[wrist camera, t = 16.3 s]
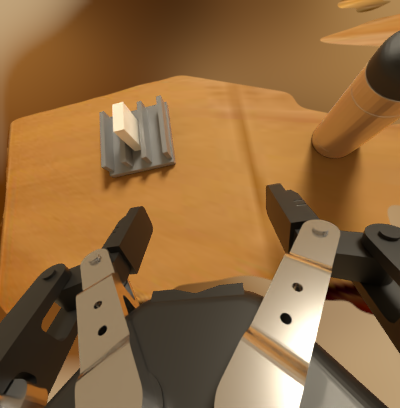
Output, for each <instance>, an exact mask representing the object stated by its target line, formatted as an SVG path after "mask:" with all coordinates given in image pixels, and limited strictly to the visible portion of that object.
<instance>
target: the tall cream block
mask: <svg viewBox="0 0 400 408" xmlns="http://www.w3.org/2000/svg"><path fill="white" fill-rule="evenodd" d="M112 107H113V132H114V133H115V134H116V135H117V136H119V137H120V138H121V139H122V140H123V141H124V142H125V143H126V144H127V145H128V146H130V147H131V148H132V149H133V150H134V151H138V150H141V145H140V134H139V123H138V120H137V119H136V118H135V117H134V115H133V114H132V113H131V112H130V110H129V109H128V108H127V107H126V105H125V104H124V103H123V102H121V103H117V104H113V105H112Z"/></svg>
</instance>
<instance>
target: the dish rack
mask: <svg viewBox="0 0 400 408" xmlns="http://www.w3.org/2000/svg"><path fill="white" fill-rule="evenodd" d="M156 100H157V105H153V106H149V107H146V108H145V106H144V105H143V103H142V102H141V101H139V102H137V110H135V111H131V113H132V114H133V115H134V117H135V118H136V119H137V120H138V123H139V134H140V145H141V150H138V151H134V150H133V149H132V148H131V147H130V146H128V145H127V144H126V143H125V142H124V141H123V140H122V139H121V138H120V137H119V136H117V135H116V134H115V133H114V132H113V117H109V116H108V115H107V114H106V113H105V112H104V111H103V112H100V138H101V166H102V168H104V169H106V170H108V171H109V172H110V176H111V177H113V178H114V177H119V176H123V175H128V174H132V173H137V172H141V171H146V170H150V169H155V168H159V167H164V166H168V165H173V164H175V156H174V148H173V141H172V133H171V126H170V118H169V110H168V105H167V103H166V102H164V101H163V99H162V97H161V95H160V96H157V97H156Z"/></svg>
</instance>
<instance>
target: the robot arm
mask: <svg viewBox="0 0 400 408" xmlns="http://www.w3.org/2000/svg"><path fill="white" fill-rule="evenodd" d="M399 118H400V31H398V32H396V33H395V34H393V35H392V36H391V37H389V38H388V39H387V40H386V41H385V42H384V43H383V44H382V45H381V46H380V48H379V49H378V50H377V51H376V53H375V54H374V55H373V57H372V58H371V59H370V60H369V62H368V63H367V64H366V65H365V67H364V68H363V70H362V71H361V72H360V73H359V75H358V76H357V77H356V78H355V80H354V81H353V83H352V84H351V85H350V86H349V87H348V89H347V90H346V91H345V93H344V94H343V95H342V97H341V98H340V99H339V100H338V101H337V103H336V104H335V105H334V107H333V108H332V109H331V111H330V112H329V113H328V114H327V116H326V117H325V118H324V119H323V121H322V122H321V123H320V124H319V126H318V127H317V128H316V130H315V131H314V133H313V135H312V143H313V146H314V148H315V149H316V151H317V152H318V153H320V154H321V155H323V156H325V157H329V158H341V157H344V156H347V155H348V154H350V153H351V152H353V151H354V150H356V149H357V148H358V147H360V146H361V145H363V144H364V143H365V142H367V141H368V140H370V139H371V138H373V137H374V136H375V135H377V134H378V133H380V132H381V131H382V130H384V129H385V128H387V127H388V126H389V125H391V124H392V123H394V122H395V121H396V120H397V119H399ZM266 210H267V214H268V217H269V219H270V221H271V223H272V225H273V227H274V229H275V232H276V234H277V236H278V238H279V240H280V242H281V244H282V246H283V248H284V251H285V253H286V254H285V255H284V257H283V259H282V261H281V263H280V265H279V268H278V270H277V272H276V274H275V276H274V278H273V280H272V282H271V284H270V286H269V289H268V290H267V293H266V295H265V297H263V296H261V295H258V294H256V293H253V292H250V291H245V290H244V289H243V283H237V284H227V285H219V286H216V287H213V288H210V289H207V290H204V291H202V292H199V293H190V292H184V291H179V290H163V291H153V294H152V298H151V300H148V301H146V302H144V303H143V304H141V305H139V303H138V301H137V298H136V296H135V293H134V291H133V288H132V286H131V283H130V281H129V279H128V276H129V274H137V273H138V270H139V268H140V265H141V262H142V259H143V257H144V254H145V251H146V249H147V246H148V243H149V240H150V238H151V235H152V232H153V227H152V223H151V221H150V219H149V217H148V215H147V213H146V210H145V208H144V207H143V206H140V207H134V208H131V209H130V210H129V211H128V213H127V215H126V216H125V217H123V218H122V219H121V220H120V221H119V222H118V224H117V225H116V227H115V229H114V230H113V232H112V233H111V235H110V236H109V238H108V239H107V241H106V242H105V244H104V246H103V247H102V249H98V250H95V251H93V252H92V253H90V254H89V255H87V256H86V257H85V258H84V259H83V261H82V262H81V265H78V266H76V267H73V268H71V269H68V268H67V267H66V266H65V265H64V264H57V265H54V266H52V267H50V268H48V269H47V270H45V271H44V272H43V273H42V274H41V275H40V276H39V277H38V278H37V279H36V280H35V281H34V283H33V284H32V285H31V286H30V288H29V289H28V290H27V291H26V292H25V294H24V295H23V296H22V297H21V298H20V300H19V301H18V302H17V303H16V305H15V306H14V307H13V308H12V309H11V311H10V312H9V313H8V314H7V315H6V317H5V318H4V319H3V320H2V322H1V323H0V408H388V407H387V406H386V405H384V403H383V402H381V401H380V400H379V399H378V398H377V397H376V396H375V395H374V394H373V393H371V392H370V391H369V390H368V389H367V388H366V387H365V386H364V385H363V384H362V383H360V382H359V381H358V380H357V379H356V378H355V377H354V376H353V375H352V374H351V373H349V372H348V371H347V370H346V369H345V368H344V367H343V366H342V365H341V364H339V363H338V362H337V361H336V360H335V359H334V358H333V357H332V356H331V355H329V354H328V353H327V352H326V351H325V350H324V349H323V348H322V347H321V346H320V345H318V344H317V343H316V342H315V338H316V333H317V330H318V326H319V321H320V317H321V313H322V309H323V305H324V301H325V297H326V293H327V289H328V285H329V281H330V277H333V278H339V279H345V280H350V281H352V282H353V284H354V285H355V287H356V288H357V290H358V292H359V293H360V295H361V296H362V298H363V299H364V301H365V302H366V304H367V305H368V307H369V308H370V310H371V311H372V313H373V314H374V316H375V317H376V319H377V320H378V322H379V323H380V325H381V326H382V328H383V329H384V330H385V332H386V334H387V335H388V336H389V338H390V340H391V341H392V343H393V344H394V346H395V347H396V349H397V350H398V352H399V353H400V228H399V227H396V226H392V225H388V224H372V225H369V226H367V227H366V228H365V231H364V233H360V232H348V231H340V230H339V229H338V228H337V227H336V226H335V225H334V224H332V223H330V222H328V221H324V220H320V219H319V218H318V217H317V216H316V214H315V213H314V212H313V211H312V210H311V208H310V207H309V206H308V205H306V203H305V201H304V200H302V198H301V197H300V195H299V194H298V193H296V192H294V191H292V190H285V189H284V188H283V186H282V185H281V184H280V183H278V184H272V185H267V186H266ZM54 302H55V303H57V304H58V305H59V306H60V307H61V309H60V311H59V312H58V314H57V316H56V317H55V319H54V321H53V322H52V324H51V325H50V327H49V329H48V330H47V332H44V331H43V330H42V328H41V324H42V320H43V318H44V317H45V315H46V314H47V312H48V311H49V309H50V308H51V306H52V304H53V303H54ZM77 334H78V342H79V357H80V368H79V370H78V371H77V372H76V373H75V374H74V375H73V376H72V377H71V378H70V379H69V380H68V381H67V383H66V384H65V385H64V386H63V387H62V388H61V389H60V390H59V391H58V393H56V395H55V396H54V397H53V398H52V399H51V400H50V401H49V402H48V403H47V399H48V395H49V393H50V391H51V388H52V387H53V384H54V382H55V380H56V378H57V376H58V374H59V372H60V370H61V368H62V365H63V363H64V361H65V359H66V356H67V355H68V353H69V350H70V349H71V346H72V344H73V342H74V340H75V338H76V336H77Z"/></svg>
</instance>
